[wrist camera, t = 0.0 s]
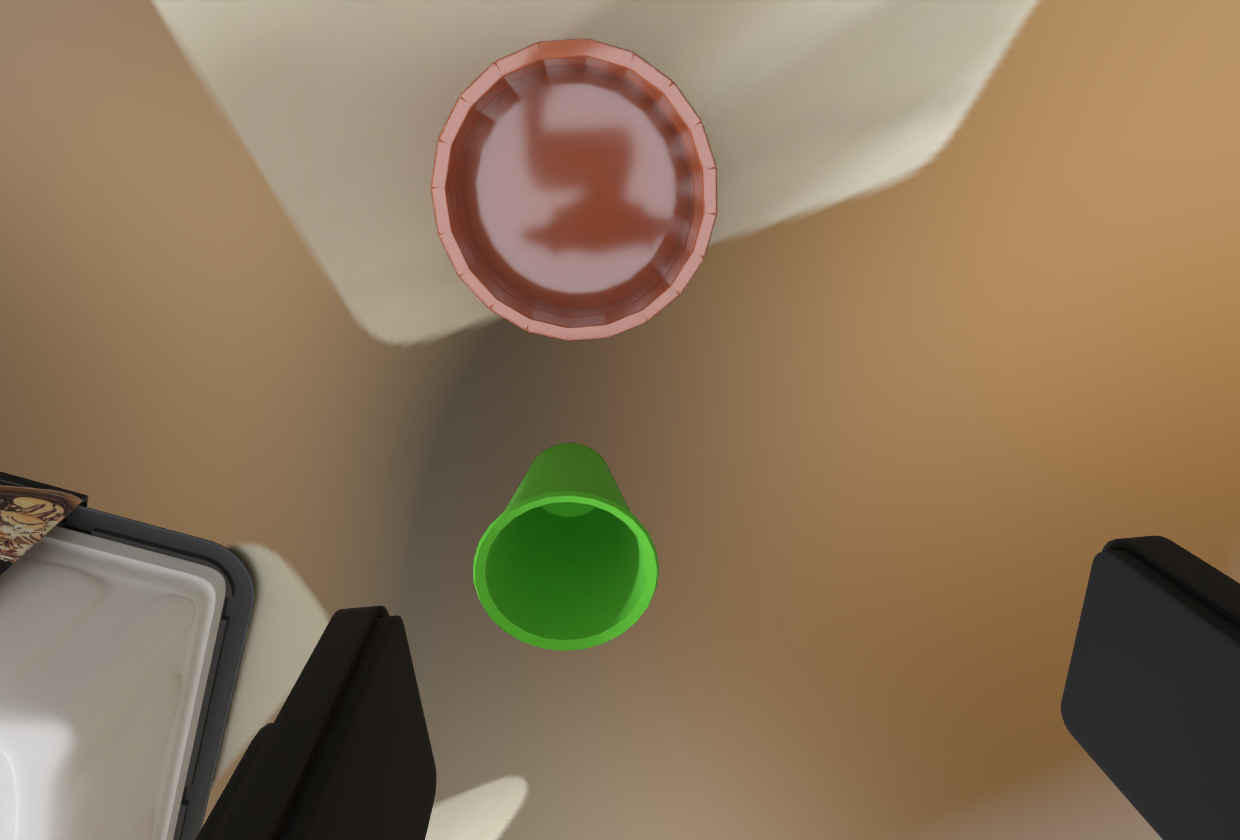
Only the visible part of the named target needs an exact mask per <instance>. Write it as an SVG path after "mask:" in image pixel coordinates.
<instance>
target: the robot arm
mask: <svg viewBox="0 0 1240 840" xmlns="http://www.w3.org/2000/svg"><path fill="white" fill-rule="evenodd" d="M1061 713H1062V717H1063V720H1064V723H1065V725H1066V727H1067V729H1068V730H1069V732H1070V733H1071V734H1072V736H1073V737H1074V738H1075V739H1076V740H1077V742H1078V743H1079V744H1080V745H1081V746H1082V748H1083V749H1084V750H1085V751H1086V752H1087V753H1088V754H1089V756H1090V757H1091V758H1092V759H1093V760H1094V761H1095V762H1096V764H1097V765H1098V766H1099V767H1100V768H1101V769H1102V770H1103V772H1104V773H1105V774H1106V775H1107V776H1108V777H1109V778H1110V780H1111V781H1112V782H1113V783H1114V784H1115V785H1116V786H1117V787H1118V789H1119V790H1120V791H1121V792H1122V793H1123V794H1124V796H1125V797H1126V798H1127V799H1128V800H1129V801H1130V803H1131V804H1132V805H1133V806H1134V807H1135V808H1136V809H1137V811H1138V812H1139V813H1140V814H1141V815H1142V816H1143V817H1144V819H1146V821H1147V822H1148V823H1149V824H1150V825H1151V827H1152V828H1153V829H1154V830H1155V831H1156V832H1157V833H1158V835H1159V836H1160V837H1161V838H1162V839H1163V840H1240V584H1239V583H1238V582H1236V581H1235V580H1233V579H1231V578H1230V577H1228V576H1227V575H1225V574H1223V573H1222V572H1220V571H1219V570H1217V569H1216V568H1214V567H1212V566H1211V565H1209V564H1208V563H1206V562H1204V561H1203V560H1201V559H1200V558H1198V557H1196V556H1195V555H1193V554H1191V553H1190V552H1188V551H1187V550H1185V549H1184V548H1182V547H1180V546H1179V545H1177V544H1176V543H1174V542H1172V541H1171V540H1169V539H1167V538H1164V537H1162V536H1146V537H1134V538H1123V539H1115V540H1112V541H1109V542H1108V543H1107V544H1106V545H1105V546H1104V548H1103V550H1102V552H1100V553H1098V554H1097V555H1096V556H1095V558H1094V560H1093V564H1092V568H1091V572H1090V577H1089V581H1088V586H1087V590H1086V595H1085V599H1084V604H1083V608H1082V613H1081V617H1080V622H1079V626H1078V630H1077V635H1076V640H1075V644H1074V648H1073V653H1072V657H1071V662H1070V666H1069V671H1068V675H1067V680H1066V684H1065V689H1064V693H1063V698H1062V702H1061ZM435 791H436V768H435V762H434V758H433V754H432V749H431V744H430V740H429V735H428V731H427V726H426V722H425V717H424V713H423V709H422V704H421V700H420V695H419V690H418V686H417V682H416V677H415V673H414V668H413V664H412V659H411V655H410V650H409V646H408V641H407V637H406V632H405V628H404V624H403V621H402V619H401V617H400V616H389V613H388V611H387V610H386V608H385V607H383V606H373V607H362V608H349V609H340V610H338V611H336V612H335V614H334V615H333V617H332V618H331V620H330V622H329V624H328V625H327V627H326V629H325V631H324V633H323V635H322V636H321V638H320V640H319V642H318V644H317V645H316V647H315V649H314V651H313V653H312V654H311V656H310V658H309V660H308V662H307V664H306V665H305V667H304V669H303V671H302V673H301V674H300V676H299V678H298V680H297V682H296V684H295V685H294V687H293V689H292V691H291V693H290V694H289V696H288V698H287V700H286V702H285V703H284V705H283V707H282V709H281V711H280V713H279V714H278V716H277V718H276V720H275V722H274V723H269V724H267V725H266V726H264V727H263V728H262V729H260V731H259V732H258V733H257V735H256V736H255V737H254V739H253V740H252V742H251V743H250V745H249V747H248V749H247V750H246V752H245V754H244V756H243V758H242V759H241V761H240V763H239V764H238V766H237V768H236V770H235V771H234V773H233V775H232V777H231V778H230V780H229V782H228V784H227V785H226V787H225V789H224V791H223V793H222V794H221V796H220V798H219V799H218V801H217V803H216V805H215V806H214V808H213V810H212V812H211V813H210V815H209V817H208V819H207V820H206V822H205V824H204V826H203V827H202V829H201V831H200V832H199V834H198V836H197V838H196V839H195V840H425V837H426V833H427V829H428V824H429V820H430V816H431V811H432V807H433V802H434V798H435Z"/></svg>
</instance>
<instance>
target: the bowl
mask: <svg viewBox="0 0 1240 840" xmlns="http://www.w3.org/2000/svg"><path fill="white" fill-rule="evenodd" d="M438 139H439V140H438V141H437V147H436V154H435V160H434V167H433V174H432V181H431V187H432V188H431V193H432V200H433V206H434V212H435V218H436V225H437V231H438V234H439V238H440V240H441V242H442V244H443V246H444V248H445V250H446V252H447V254H448V256H449V258H450V260H451V262H452V264H453V266H454V268H455V270H456V273H457V275H458V276H459V277H460V279H461V280H462V281H463V282H464V283H465V284H466V285H467V286H468V287H469V288H470V289H471V290H472V291H473V293H474V294H475V295H476V296H477V297H478V298H479V299H480V300H481V301H482V302H483V303H484V304H485V306H486V307H487V308H490V310H491V311H493V312H494V313H496V314H498V315H500V316H501V317H503V318H505V319H506V320H509V321H510V322H512V323H513V324H515V325H517V326H518V327H520V328H522V329H524V330H527V331H528V332H532V333H536V334H541V335H545V336H549V337H553V338H558V339H562V340H568V341H572V340H583V339H597V338H608V337H612V336H614V335H617V334H619V333H622V332H624V331H626V330H629V329H631V328H634V327H636V326H638V325H641V324H644V323H646V322H647V321H649V320H650V319H652V318H653V317H654V316H655V315H656V314H658V313H659V312H660V311H661V310H663V309H664V308H665V307H666V306H667V305H669V304H670V303H671V302H672V301H673V300H675V299H676V298H677V297H678V296H679V295H680V294H681V293H682V292H683V290H684V289H685V287H686V286H687V284H688V283H689V281H690V279H691V278H692V277H693V275H694V273H695V272H696V270H697V269H698V267H699V266H700V264H701V263H702V261H703V260H704V257H705V255H706V251H707V248H708V244H709V241H710V237H711V234H712V230H713V227H714V224H715V220H716V217H717V169H716V163H715V160H714V157H713V154H712V151H711V148H710V145H709V142H708V138H707V135H706V132H705V129H704V126H703V123H702V122H701V119H700V118H699V116H698V115H697V113H696V112H695V111H694V109H693V108H692V106H691V105H690V104H689V102H688V101H687V99H686V98H685V96H684V95H683V94H682V92H681V91H680V89H679V88H678V87H677V85H676V84H675V82H673V81H672V80H671V79H670V78H668V77H667V76H666V75H664V74H663V73H662V72H660V71H659V70H658V69H656V68H655V67H653V66H652V65H651V64H649V63H648V62H647V61H645V60H644V59H642V58H641V57H640V56H638V55H637V54H635V53H633V52H632V51H628V50H625V49H622V48H618V47H615V46H611V45H608V44H605V43H601V42H598V41H595V40H591V39H585V38H584V39H569V40H553V41H540V42H536V43H534V44H532V45H530V46H528V47H525V48H523V49H521V50H519V51H516V52H514V53H512V54H510V55H507V56H505V57H503V58H501V59H499V60H496V61H495V62H493V63H492V64H491V65H490V66H489V67H488V68H487V69H486V70H485V71H484V72H483V73H482V74H481V75H480V76H479V77H478V78H477V79H476V80H475V81H474V82H473V83H472V84H471V85H470V86H469V87H468V88H467V89H466V90H464V91H463V92H462V93H461V95H460V97H458V99H457V101H456V103H455V105H454V107H453V109H452V111H451V113H450V115H449V117H448V119H447V121H446V123H445V125H444V127H443V129H442V131H441V133H440V135H439V138H438Z"/></svg>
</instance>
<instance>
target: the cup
mask: <svg viewBox="0 0 1240 840" xmlns="http://www.w3.org/2000/svg"><path fill="white" fill-rule="evenodd" d="M473 562H474V563H473V566H474V567H473V573H474V574H473V577H474V578H473V580H474V584H475V588H476V591H477V594H478V598H479V600H480V602H481V603H482V605H483V606H484V608H485V610H486V611H487V613H488V615H489V616H490V618H491V619H492V620H494V622H495V623H497V624H498V625H499V626H500V627H501V628H502V629H503V630H504V631H505V632H507V633H508V634H510V635H512V636H513V637H515V638H517V639H518V640H520V641H522V642H525V643H528V644H531V645H534V646H537V647H540V648H544V649H553V650H561V651H565V650H578V649H586V648H589V647H593V646H596V645H600V644H603V643H605V642H607V641H609V640H611V639H613V638H615V637H617V636H619V635H621V634H622V633H623V632H624V631H626V630H627V629H628V628H629V627H631V626H632V625H633V624H634V623H635V622H637V620H638V619H639V617H640V616H641V615H642V614H643V612H644V611H645V610H646V608H647V607H648V605H649V604H650V602H651V599H652V597H653V595H654V592H655V590H656V587H657V581H658V572H659V564H658V558H657V552H656V548H655V546H654V544H653V542H652V539H651V538H650V535H649V533H648V531H647V530H646V529H645V527H644V526H643V525H642V524H641V523H640V522H639V521H638V519H637V518H636V517H635V516H634V515H633V514H632V513H631V512H630V510H629V508H628V506H627V504H626V502H625V500H624V498H623V496H622V494H621V492H620V490H619V488H618V486H617V484H616V482H615V480H614V478H613V476H612V474H611V472H610V470H609V468H608V466H607V464H606V462H605V461H604V460H603V458H602V457H601V456H600V455H599V454H598V453H597V452H595V451H593V450H592V449H591V448H588V447H586V446H584V445H581V444H574V443H563V444H558V445H555V446H551V447H550V448H548V449H546V450H544V451H543V452H542V453H541V454H540V455H538V456H537V457H536V458H535V460H534V462H533V463H532V465H531V466H530V468H529V470H528V472H527V473H526V475H525V477H524V478H523V480H522V482H521V484H520V485H519V487H518V489H517V491H516V492H515V494H514V496H513V498H512V499H511V501H510V503H509V505H508V507H507V508H506V510H505V511H504V512H503V513H502V514H501V515H500V516H499V517H498V518H497V519H496V520H495V521H494V522H492V523H491V524H490V526H489V527H488V529H487V530H486V532H485V534H484V535H483V537H482V538H481V540H480V541H479V544H478V547H477V551H476V554H475V558H474V561H473Z"/></svg>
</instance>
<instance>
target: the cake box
mask: <svg viewBox="0 0 1240 840" xmlns="http://www.w3.org/2000/svg"><path fill="white" fill-rule="evenodd" d="M87 501H88V496H87V495H84V494H80V493H76V492H72V491H69V490H65V489H62V488H58V487H54V486H50V485H47V484H43V483H40V482H36V481H33V480H29V479H25V478H22V477H18V476H14V475H10V474H7V473H3V472H0V840H195V839H196V838H197V836H198V834H199V832H200V831H201V829H202V824H203V820H204V816H205V811H206V807H207V803H208V799H209V794H210V790H211V786H212V781H213V777H214V773H215V768H216V764H217V760H218V756H219V751H220V747H221V743H222V738H223V734H224V730H225V725H226V721H227V717H228V712H229V708H230V704H231V699H232V695H233V691H234V687H235V682H236V678H237V674H238V669H239V665H240V661H241V656H242V652H243V648H244V643H245V639H246V635H247V631H248V626H249V622H250V618H251V613H252V609H253V604H254V597H255V592H254V585H253V581H252V578H251V576H250V573H249V571H248V570H247V568H246V567H245V565H244V564H243V563H242V561H241V560H240V559H239V558H238V557H237V556H236V555H235V554H234V553H232V552H231V551H230V550H228V549H227V548H225V547H223V546H222V545H219V544H217V543H215V542H212V541H208V540H205V539H202V538H198V537H194V536H190V535H187V534H183V533H179V532H176V531H172V530H168V529H165V528H161V527H157V526H154V525H150V524H146V523H143V522H139V521H135V520H131V519H128V518H124V517H120V516H116V515H113V514H109V513H106V512H102V511H98V510H95V509H91V508H87Z"/></svg>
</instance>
